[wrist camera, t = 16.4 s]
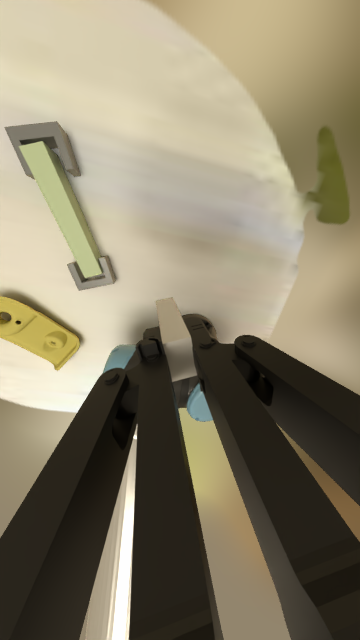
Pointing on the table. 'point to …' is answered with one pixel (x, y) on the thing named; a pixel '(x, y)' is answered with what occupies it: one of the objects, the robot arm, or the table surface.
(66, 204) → the slat
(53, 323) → the plastic component
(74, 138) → the table surface
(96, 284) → the end caps
